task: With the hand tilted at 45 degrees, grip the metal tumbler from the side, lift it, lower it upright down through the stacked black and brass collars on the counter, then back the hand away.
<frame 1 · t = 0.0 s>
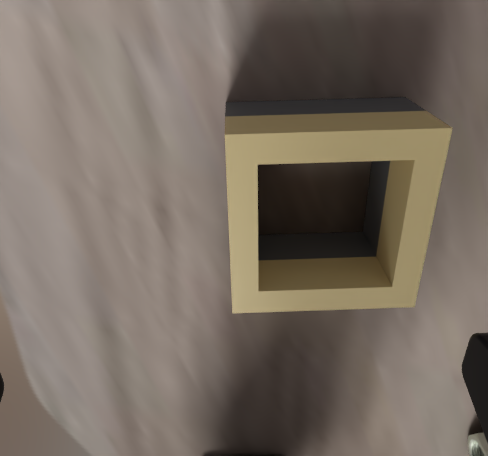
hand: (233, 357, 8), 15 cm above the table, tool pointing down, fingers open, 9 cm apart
collar block: (311, 182, 23), on the table
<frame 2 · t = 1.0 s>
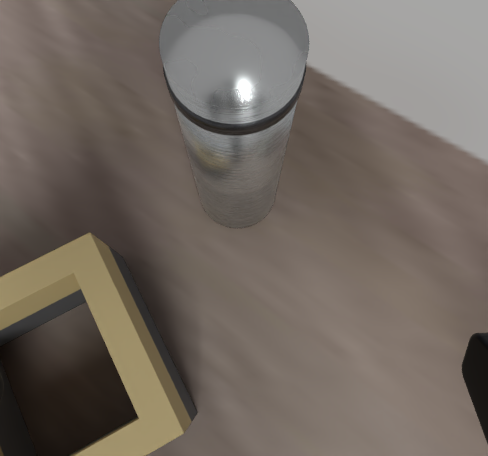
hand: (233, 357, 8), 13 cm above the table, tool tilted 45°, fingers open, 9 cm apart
metal tumbler: (237, 191, 23), on the table
collar block: (78, 374, 21), on the table
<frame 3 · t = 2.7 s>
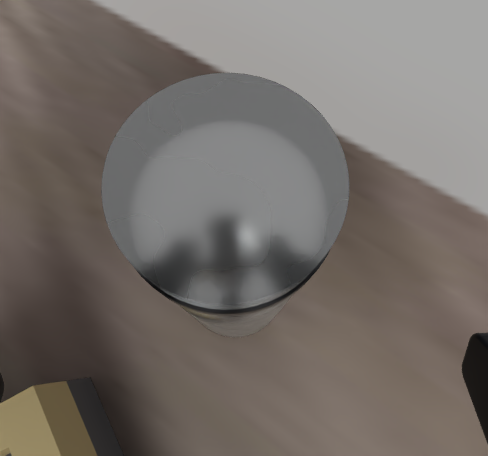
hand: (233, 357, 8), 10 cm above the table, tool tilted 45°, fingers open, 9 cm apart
metal tumbler: (235, 288, 19), on the table
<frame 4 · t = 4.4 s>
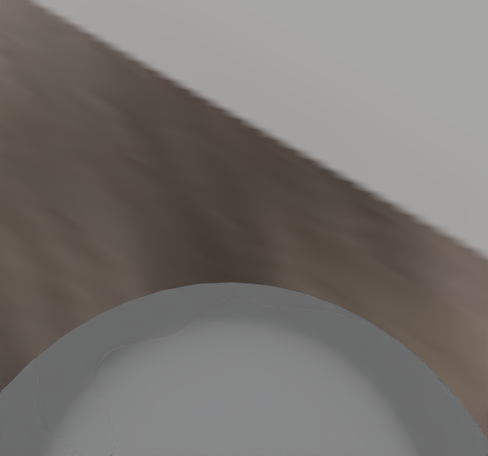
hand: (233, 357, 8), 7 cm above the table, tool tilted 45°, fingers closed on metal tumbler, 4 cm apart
metal tumbler: (238, 399, 14), on the table, touching gripper
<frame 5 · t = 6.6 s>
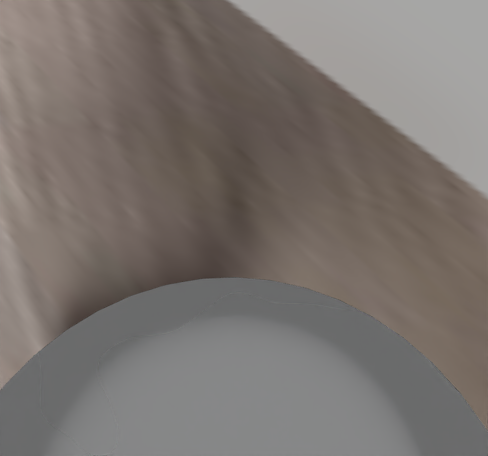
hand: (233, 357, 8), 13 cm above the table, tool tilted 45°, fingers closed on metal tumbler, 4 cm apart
metal tumbler: (238, 398, 14), point 7 cm above the table, touching gripper
when the fingers open (7 cm above the table, at t = 8.8 s): metal tumbler stays where it is, resting in collar block.
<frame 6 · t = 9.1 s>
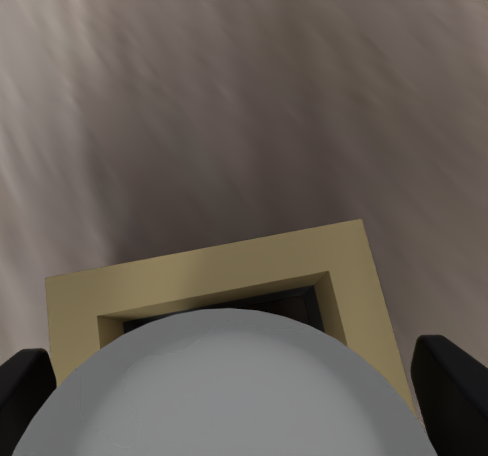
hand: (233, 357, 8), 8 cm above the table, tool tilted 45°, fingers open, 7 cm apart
metal tumbler: (238, 398, 15), resting in collar block
collar block: (238, 396, 15), on the table
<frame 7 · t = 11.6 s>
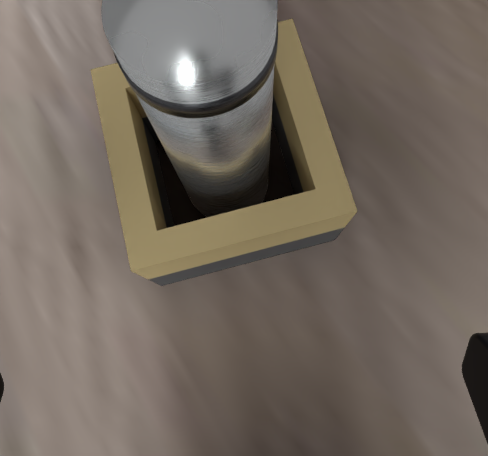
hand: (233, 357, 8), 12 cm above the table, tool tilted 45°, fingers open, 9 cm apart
metal tumbler: (227, 182, 22), resting in collar block
collar block: (226, 180, 22), on the table
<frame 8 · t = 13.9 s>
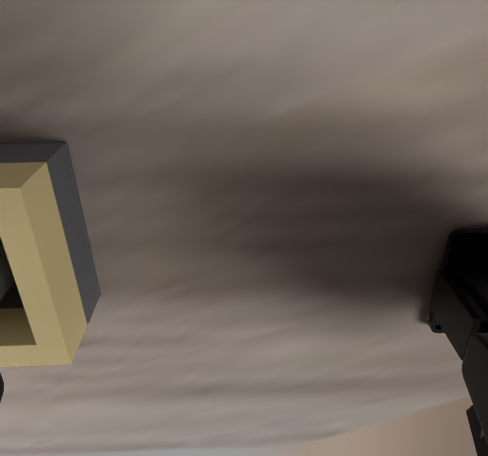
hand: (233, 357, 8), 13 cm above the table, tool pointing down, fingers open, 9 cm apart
metal tumbler: (0, 227, 21), resting in collar block
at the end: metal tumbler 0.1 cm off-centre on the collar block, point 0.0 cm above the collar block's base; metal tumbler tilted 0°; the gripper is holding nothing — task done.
